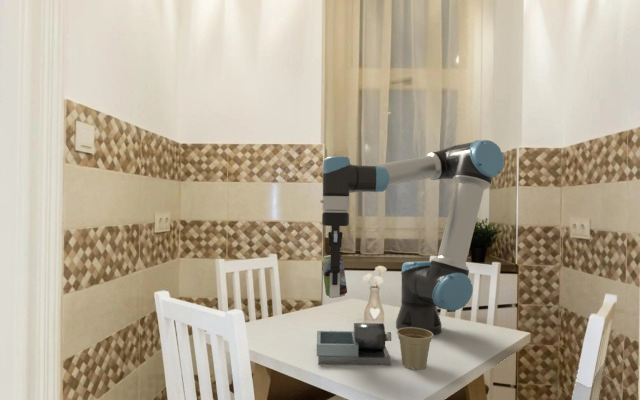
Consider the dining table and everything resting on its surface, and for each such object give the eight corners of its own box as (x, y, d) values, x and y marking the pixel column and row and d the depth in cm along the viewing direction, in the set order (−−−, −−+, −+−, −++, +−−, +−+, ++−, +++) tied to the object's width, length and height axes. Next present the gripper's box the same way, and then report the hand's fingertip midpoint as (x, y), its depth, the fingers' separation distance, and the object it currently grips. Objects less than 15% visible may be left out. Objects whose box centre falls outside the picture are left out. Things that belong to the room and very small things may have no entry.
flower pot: (439, 365, 109) (439, 332, 109) (422, 376, 102) (422, 340, 102) (407, 356, 115) (408, 325, 115) (389, 365, 108) (389, 332, 108)
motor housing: (386, 348, 121) (386, 317, 121) (394, 365, 108) (394, 331, 108) (316, 347, 121) (317, 316, 121) (316, 364, 108) (316, 330, 108)
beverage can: (345, 300, 112) (345, 256, 112) (318, 298, 113) (319, 255, 114) (348, 295, 118) (349, 253, 118) (323, 293, 120) (324, 252, 120)
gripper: (323, 211, 126) (322, 286, 126) (321, 212, 106) (320, 301, 106) (347, 211, 126) (346, 287, 125) (350, 212, 106) (349, 302, 106)
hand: (334, 293), depth 116 cm, fingers closed on beverage can, 6 cm apart
